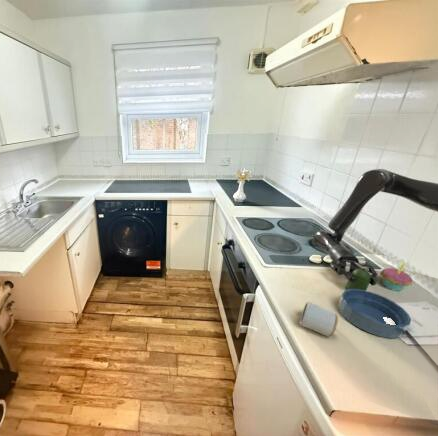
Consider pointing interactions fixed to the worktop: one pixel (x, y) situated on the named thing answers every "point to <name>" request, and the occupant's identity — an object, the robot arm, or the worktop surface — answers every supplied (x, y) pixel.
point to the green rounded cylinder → (359, 280)
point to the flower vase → (241, 184)
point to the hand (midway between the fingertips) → (363, 282)
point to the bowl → (373, 313)
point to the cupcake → (395, 278)
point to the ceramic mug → (319, 319)
